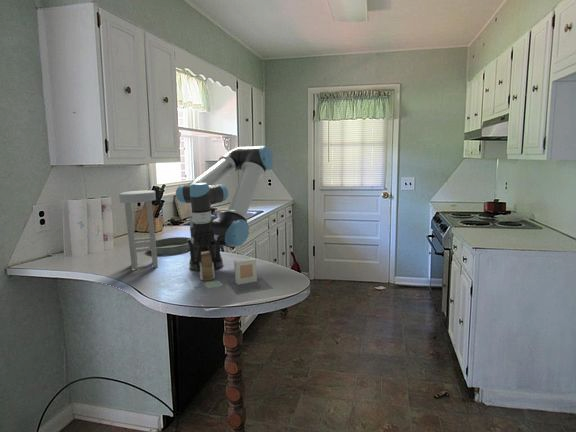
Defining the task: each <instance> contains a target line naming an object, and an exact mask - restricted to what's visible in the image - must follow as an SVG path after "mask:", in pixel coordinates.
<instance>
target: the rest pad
mask: <svg viewBox="0 0 576 432" xmlns="http://www.w3.org/2000/svg"><path fill="white" fill-rule="evenodd" d="M203 284H204V286H205V288H206V290H207V289H214V288H220V287H223V283H222V282H221V281H220V280H215V281H207V282H204V283H203Z"/></svg>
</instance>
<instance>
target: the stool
mask: <svg viewBox="0 0 576 432" xmlns="http://www.w3.org/2000/svg"><path fill="white" fill-rule="evenodd" d="M156 196H157V195H156V190H151V189H150V190H148V189H147V190H144V189H143V190H132V191H123V192H121V193H119V203H122V204H124V210H125V218H126V219H125V220H126V221H125V222H126V226H127V227H126V228H127V229H126V230H127V236H128V246H129V247H128V248H129V255H130V265H131V270H132V269H137V270H138V265H137V264H138V262H139V261H138V253H139V252H140V253H141V252H149V251H150V252H151V261H152V268H153V267H156V268H159V265H158V254H157V251H156V241H155V240H156V232H155V223H154V222H155V221H154V214H153V213H154V212H153V205H152V203H153V202H152V201H156V200H157V197H156ZM134 203H135V204H137V203H146V211H147V220H148V221H147V222H148V232H149V237H142V238H141V237H140V238H139V237H138V238H136V236H135V227H134V226H135V225H134V217H133V207H132V204H134ZM150 246H151V248H149V247H150Z"/></svg>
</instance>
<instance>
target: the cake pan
mask: <svg viewBox="0 0 576 432" xmlns="http://www.w3.org/2000/svg"><path fill="white" fill-rule="evenodd" d="M190 238H191V237H186V236H185V237H184V236H173V237H165V238H160V239H155V241H156V251H157V255H161V254H165V255H173V254H175V255H177V254H180V253H186V252H188V251H190V249H189V244H188V242H187V239H190ZM148 248H151V246H150V247H148Z"/></svg>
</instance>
